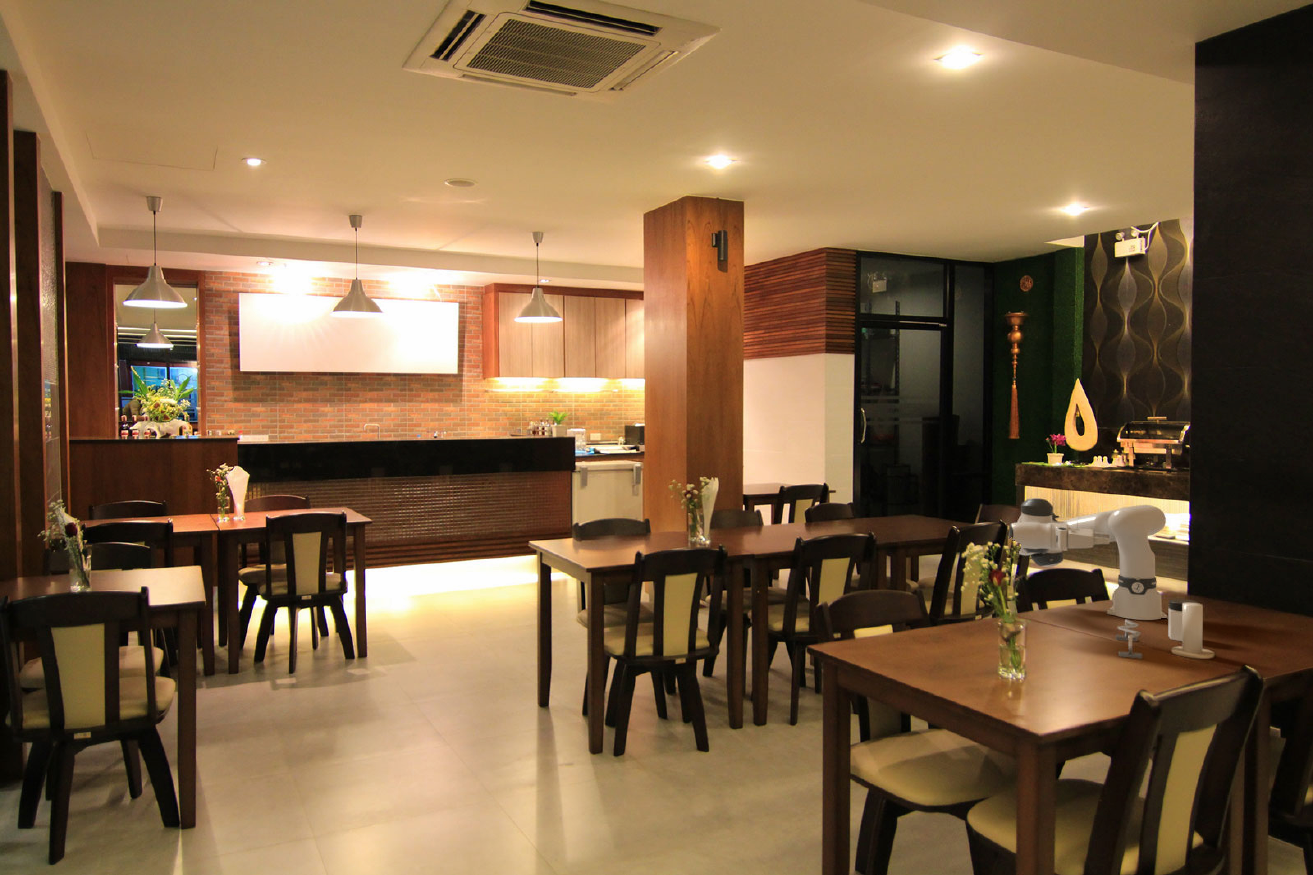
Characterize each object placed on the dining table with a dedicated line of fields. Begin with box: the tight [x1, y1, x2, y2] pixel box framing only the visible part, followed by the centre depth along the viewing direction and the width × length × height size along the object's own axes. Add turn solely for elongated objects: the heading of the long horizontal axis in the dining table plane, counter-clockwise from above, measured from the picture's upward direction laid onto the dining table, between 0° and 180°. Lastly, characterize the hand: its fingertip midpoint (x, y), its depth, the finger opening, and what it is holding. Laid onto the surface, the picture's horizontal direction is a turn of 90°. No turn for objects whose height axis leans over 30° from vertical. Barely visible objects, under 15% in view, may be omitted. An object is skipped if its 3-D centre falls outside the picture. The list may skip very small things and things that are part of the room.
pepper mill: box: [1181, 602, 1204, 653], centre depth 268 cm, size 5×5×14 cm
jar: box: [1167, 598, 1199, 642], centre depth 286 cm, size 9×8×12 cm
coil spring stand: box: [1115, 618, 1143, 660], centre depth 276 cm, size 25×6×6 cm, turn 155°
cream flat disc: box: [1170, 645, 1215, 660], centre depth 269 cm, size 11×11×1 cm
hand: (1109, 539), depth 286 cm, fingers open, 8 cm apart
